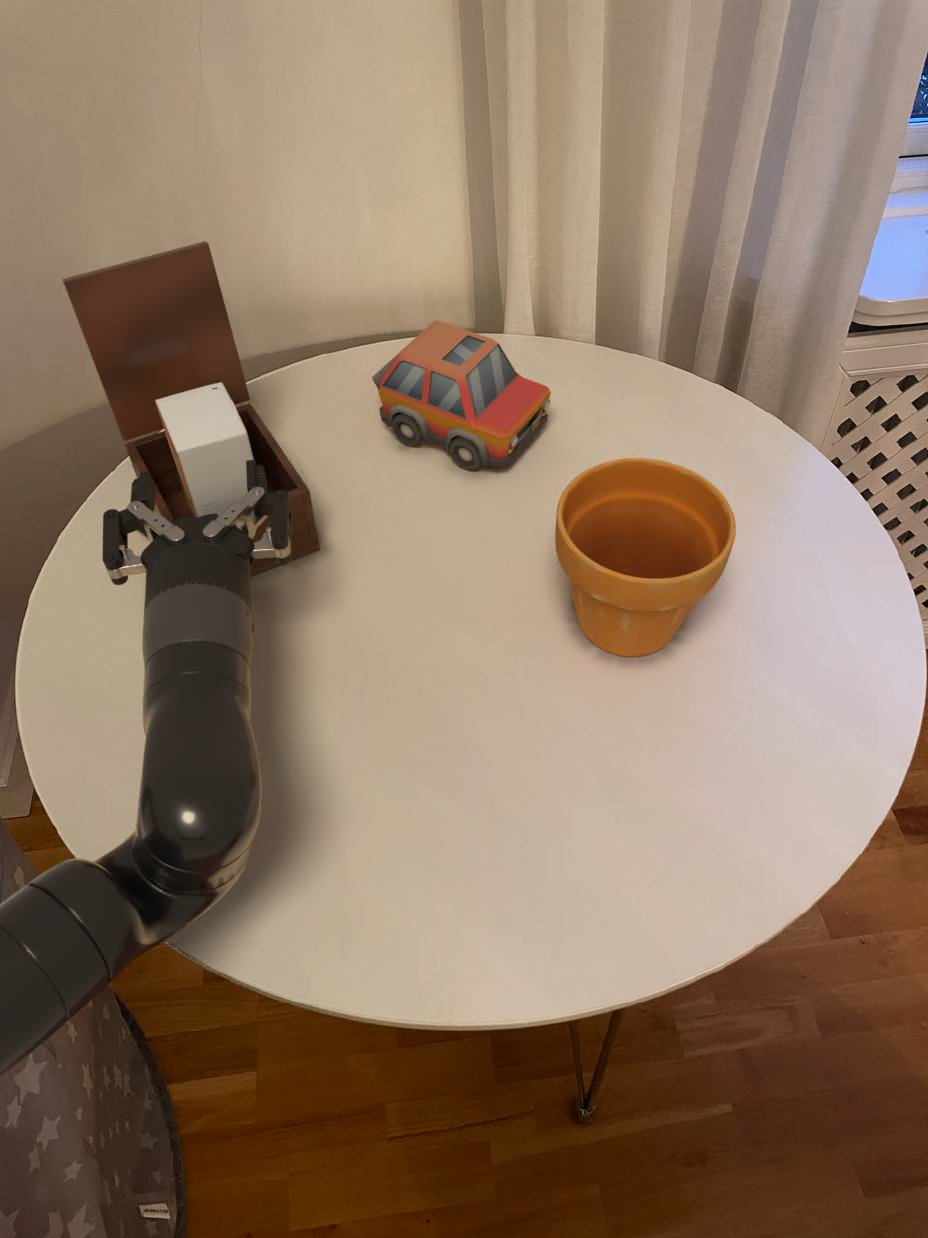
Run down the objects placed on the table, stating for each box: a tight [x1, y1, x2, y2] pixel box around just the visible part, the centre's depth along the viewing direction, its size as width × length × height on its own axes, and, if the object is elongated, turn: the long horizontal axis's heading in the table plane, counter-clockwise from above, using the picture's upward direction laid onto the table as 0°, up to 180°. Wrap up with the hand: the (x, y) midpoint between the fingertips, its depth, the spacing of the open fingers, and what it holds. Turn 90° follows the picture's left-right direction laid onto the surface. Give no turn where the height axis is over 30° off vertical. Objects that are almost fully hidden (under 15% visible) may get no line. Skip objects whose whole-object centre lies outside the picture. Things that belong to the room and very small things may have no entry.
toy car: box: [371, 320, 552, 471], centre depth 98 cm, size 12×17×10 cm
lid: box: [61, 240, 251, 442], centre depth 85 cm, size 15×13×1 cm
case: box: [124, 402, 321, 578], centre depth 89 cm, size 15×13×8 cm
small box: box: [155, 382, 254, 517], centre depth 86 cm, size 8×6×13 cm
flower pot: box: [554, 457, 737, 658], centre depth 79 cm, size 14×14×13 cm
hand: (200, 473), depth 77 cm, fingers open, 8 cm apart
